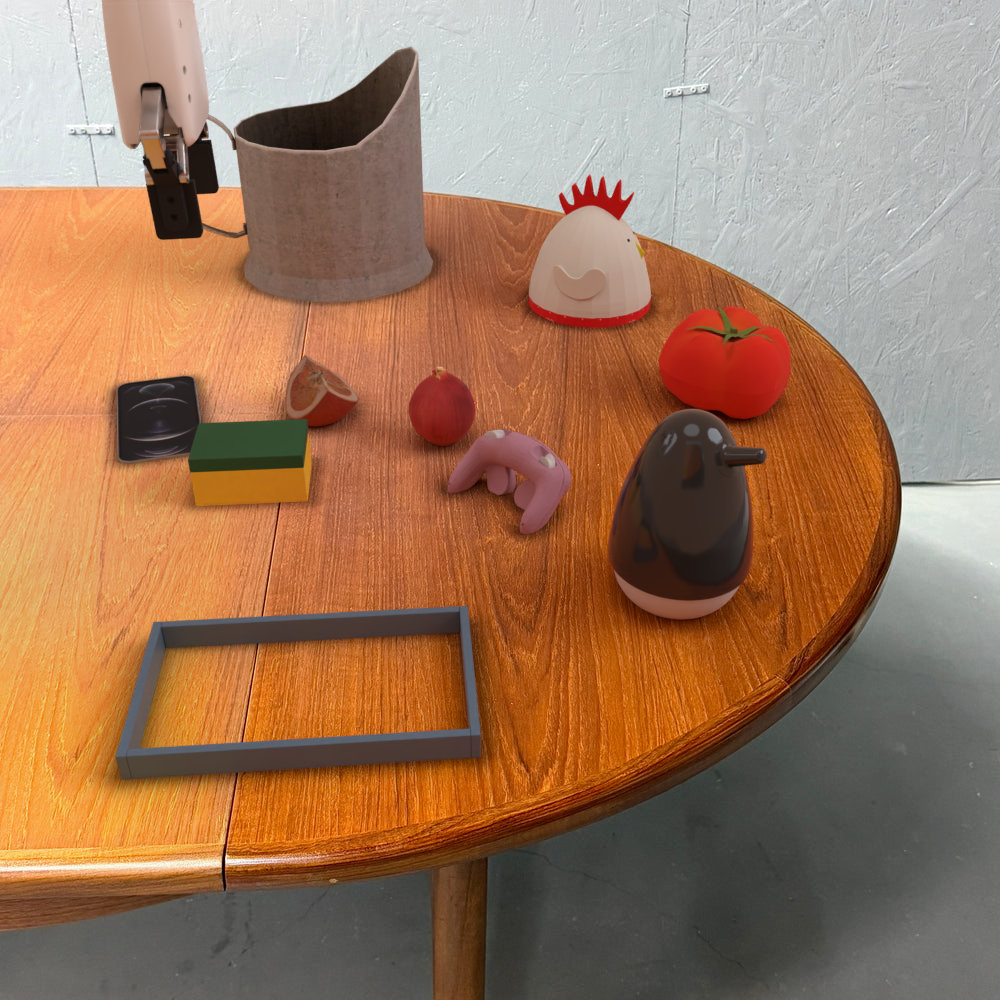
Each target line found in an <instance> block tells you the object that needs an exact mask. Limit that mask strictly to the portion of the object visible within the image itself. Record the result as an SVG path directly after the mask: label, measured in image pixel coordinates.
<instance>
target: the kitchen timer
mask: <svg viewBox="0 0 1000 1000" xmlns="http://www.w3.org/2000/svg"><path fill="white" fill-rule="evenodd" d="M598 183H599V184H598V189H597V193H596V194H595V189H594V184H593V178H592V174H588V175H587V177H586V179H585V184H584V189H583V193H582V192H581V190H580V188H579V186H578V184H577V183H573V184H572V185H571V192H572V193H571V194H572V197H573V204H571V203H569V201H568V200H567V198H566V197H565V194H564V193H563V192H559V194H558V199H559V202H560V206H561V208H562V211H563V213H564V216H563V217H562V218H561V219H560V220H559V221H557V223H556V224H555V226H553V228H552V229H551V230H550V232H549V233H548V234H547V236H546V238H545V240H544V241H543V244H542V245H541V247H540V249H539V252H538V255H537V257H536V260H535V263H534V267H533V270H532V272H531V276H530V281H529V286H528V306H529V308H530V309H531V311H532V312H533V313H535V314H536V315H538V316H539V317H541V318H543V319H546V320H547V321H551V322H552V323H556V324H560V325H564V326H570V327H576V328H590V329H594V328H595V329H596V328H597V329H598V328H611V327H612V328H613V327H617V326H618V327H619V326H623V325H624V326H625V325H627V324H630V323H632V322H636V321H638V320H641V318H643V317H644V316H645V315H647V314H648V312H649V310H650V308H651V302H652V291H651V282H650V278H649V274H648V268H647V264H646V259H645V254H646V253H645V250H643V248H642V246H641V243H640V241H639V239H638V237H637V235H636V234H635V232H634V230H633V229H632V227H631V226H630V225H629V223H628V222H627V221H626V220H625V219H624V218H623V216H624V214H625V212H626V211H627V209H628V207H629V206H630V204H631V202H632V200H633V198H634V194H635V192H634V191H633V192H632V193H630V195H629V196H627V198H626V199H623V198H622V189H623V187H622V186H623V185H622V184H623V183H622V179H621V178H620V179H619V180H618V181H617V183H616V185H615V187H614V189H613V191H612V194H611V197H609V196H608V191H607V183H606V179H605V176H604V175H602V176H601V178H600V179H599V182H598Z"/></svg>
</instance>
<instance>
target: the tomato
mask: <svg viewBox="0 0 1000 1000" xmlns="http://www.w3.org/2000/svg"><path fill="white" fill-rule="evenodd" d="M716 308H717V310H715V309H711V308H706V307H703V308H701V309H698V310H695V311H693V312H692V313H690V314H689V315H688V316H687V317H685V318H684V319H683V320H682V321H681V322H679V324H678V325H677V326H676V327H674V328H673V330H672V331H671V333H670V334H669V336H667V337H668V338H667V339H666V340H665V343H664V345H663V346H662V349H661V352H660V354H659V358H658V369H659V375H660V377H661V378H660V379H661V381H662V382H663V384H664V387H665V388H666V390H667V391H669V392H670V393H671V394H672V395H674V396H675V397H676V398H677V399H678V400H679V401H681V403H684V404H685V405H687V406H690V407H691V408H694V409H701V410H705V411H708V412H710V411H718V412H721V413H722V414H724V415H726V416H727V417H729V418H732V419H737V420H748V419H752V418H756V417H757V418H758V417H760V416H762V415H764V414H766V413H767V412H768V411H769V410H770V409H771V408H772V406H773V405H774V404H776V402H777V401H778V400H779V398H780V397H781V396H782V394H783V393H784V391H785V389H786V388H787V386H788V383H789V381H790V377H791V354H792V353H791V349H790V346H789V341H788V339H787V338H786V336H785V335H784V333H783V332H782V331H781V329H779V328H778V327H776V326H771V325H765V326H764V325H763V323H762V321H761V320H760V319H759V317H758V316H757V315H756V314H754V313H752V312H751V311H749V310H748V309H746V308H744V307H739V306H735V305H729V306H726V307H725V308H723V309H721V308H719V307H718V306H716Z"/></svg>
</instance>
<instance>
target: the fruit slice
mask: <svg viewBox="0 0 1000 1000" xmlns="http://www.w3.org/2000/svg"><path fill="white" fill-rule="evenodd" d="M293 369H294V370H292V371H291V372H290V374H289V378H288V380H287V381H288V382H287V384H286V391H285V398H284V399H285V400H284V402H285V403H284V405H285V406H284V407H285V411H286V415H287V416H288V418H290V420H294V419H307V423H308V427H314V428H315V427H324V426H329V425H332V424H334V423H336V422H338V421H340V420H341V419H343V418H344V417H346V416H347V415H348V414H349V413H350V412H351V411H352V410H353V409H354V408H355V407H356V406H357V404H358V403H359V401H360V396H359V395H358V394H357V392H356V391H355V390H354V388H352V386H351V385H350V384H349V383H348V382H347V380H345V379H344V378H343V377H342V376H341V375H339V374H338V373H336V372H335V371H333V370H331V369H330V368H328V367H327V366H326V365H324V364H322V363H320V362H318V361H317V360H314V359H313V358H312V357H310V356H308V355H306V354H305V355H303V356H302V358H301V359H300V361H298V363H297V365H295V367H294V368H293Z"/></svg>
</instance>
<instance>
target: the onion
mask: <svg viewBox="0 0 1000 1000" xmlns="http://www.w3.org/2000/svg"><path fill="white" fill-rule="evenodd" d="M476 410H477V409H476V402H475V400H474V397H473V395H472V392H471V390H470V388H469V387H468V386H467V384H466V383H465V382H464V381H463V380H462V379H460V378H459V377H457V376H456V375H454V374H452V373H450V372H449V371H448V370H447V369H446V368H444V367H443V366H436V367H435V368H433V369H431V375H429V376H427V377H425V378H424V379H423V380H422V381H421V382H419V383H418V385H417V386H416V387H415V389H414V391H413V393H412V395H411V397H410V400H409V403H408V417H409V420H410V423H411V426H412V427H413V430H415V432H416V433H417V434H418V435H420V437H422V438H423V439H424V440H426V441H428V442H430V443H432V444H433V445H436V446H438V447H449V446H452V445H453V444H455V443H456V442H458V441H460V440H462V439H463V438H464V437H465V436H466V435H467V434H468V433H469V431H470V429H471V427H472V426H473V423H474V421H475V417H476Z"/></svg>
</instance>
